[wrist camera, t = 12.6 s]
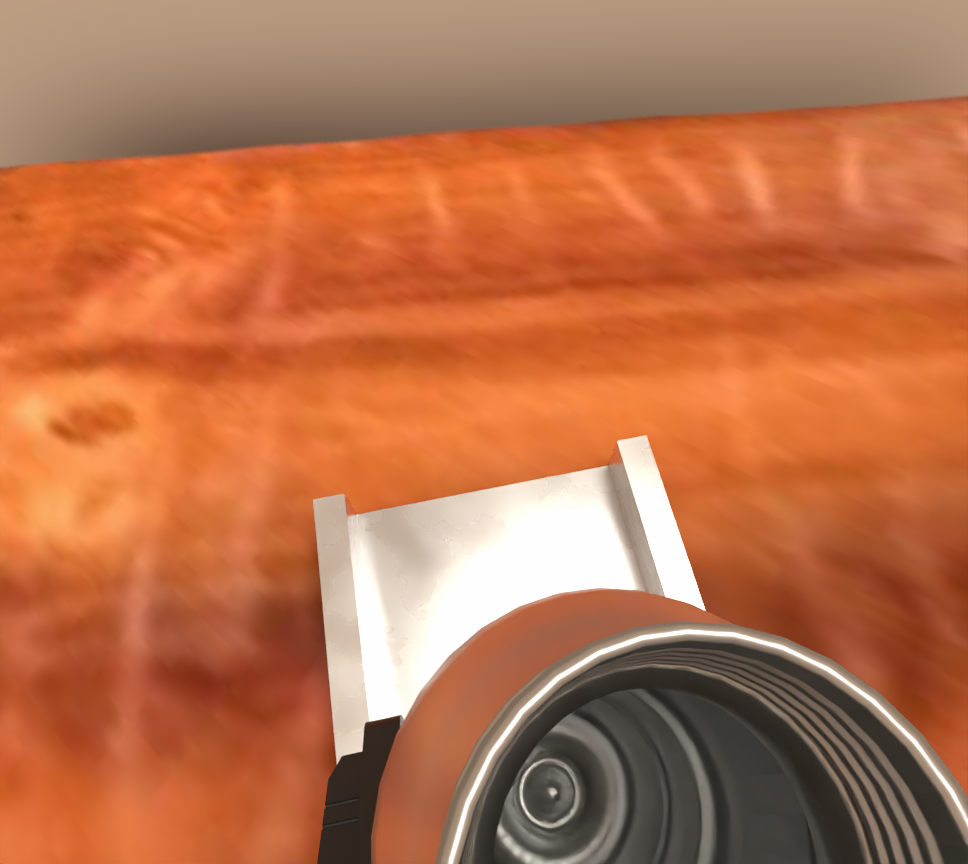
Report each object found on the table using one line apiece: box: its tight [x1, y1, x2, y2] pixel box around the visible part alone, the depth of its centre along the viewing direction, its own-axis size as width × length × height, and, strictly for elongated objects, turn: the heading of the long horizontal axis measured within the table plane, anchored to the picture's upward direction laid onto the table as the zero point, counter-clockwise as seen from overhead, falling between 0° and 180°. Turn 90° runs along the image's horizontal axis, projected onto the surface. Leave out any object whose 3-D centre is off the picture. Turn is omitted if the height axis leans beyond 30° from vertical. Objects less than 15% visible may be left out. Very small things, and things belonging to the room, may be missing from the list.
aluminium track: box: [313, 435, 705, 764], centre depth 23 cm, size 22×13×4 cm, turn 11°
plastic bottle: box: [371, 587, 968, 864], centre depth 13 cm, size 6×7×20 cm
